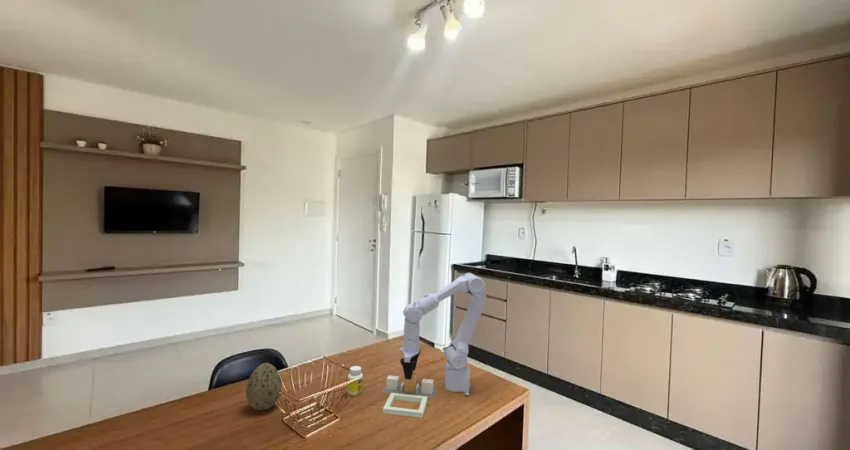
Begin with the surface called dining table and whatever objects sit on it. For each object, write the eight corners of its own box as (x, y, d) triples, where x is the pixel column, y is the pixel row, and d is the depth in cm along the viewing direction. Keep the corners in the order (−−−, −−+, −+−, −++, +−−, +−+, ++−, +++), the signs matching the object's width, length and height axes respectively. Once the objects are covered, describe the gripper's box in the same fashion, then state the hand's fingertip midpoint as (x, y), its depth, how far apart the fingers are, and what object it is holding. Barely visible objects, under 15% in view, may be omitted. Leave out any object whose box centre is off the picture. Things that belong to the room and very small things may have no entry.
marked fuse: (415, 388, 137) (416, 372, 137) (414, 392, 135) (415, 376, 134) (405, 387, 138) (405, 371, 138) (403, 391, 135) (404, 375, 135)
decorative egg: (285, 410, 121) (286, 365, 121) (249, 420, 115) (250, 372, 114) (276, 397, 130) (277, 354, 130) (242, 406, 123) (243, 361, 123)
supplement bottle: (359, 399, 130) (359, 372, 130) (344, 397, 131) (345, 370, 131) (364, 392, 135) (365, 366, 135) (350, 390, 136) (351, 364, 136)
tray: (427, 403, 129) (427, 396, 129) (422, 420, 118) (422, 413, 118) (390, 399, 131) (391, 392, 131) (382, 416, 120) (382, 408, 120)
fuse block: (436, 390, 139) (437, 377, 139) (434, 400, 131) (434, 386, 131) (387, 385, 142) (387, 372, 142) (381, 395, 134) (382, 381, 134)
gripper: (404, 330, 144) (403, 365, 144) (396, 343, 129) (395, 381, 130) (422, 332, 143) (421, 367, 143) (416, 345, 128) (414, 384, 129)
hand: (410, 374), depth 136 cm, fingers open, 7 cm apart
